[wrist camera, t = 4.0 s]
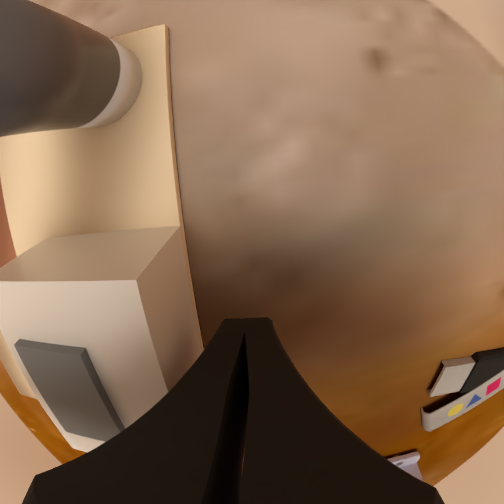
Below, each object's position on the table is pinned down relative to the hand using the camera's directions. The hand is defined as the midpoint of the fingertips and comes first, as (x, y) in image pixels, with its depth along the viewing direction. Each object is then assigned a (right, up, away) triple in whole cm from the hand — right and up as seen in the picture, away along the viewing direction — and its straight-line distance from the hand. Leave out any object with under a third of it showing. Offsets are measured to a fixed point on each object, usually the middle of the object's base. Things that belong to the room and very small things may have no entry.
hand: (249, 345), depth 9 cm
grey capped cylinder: (-4, +8, -2) cm, 9 cm away
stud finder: (-4, 0, +1) cm, 4 cm away
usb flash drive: (+13, -4, +4) cm, 14 cm away
